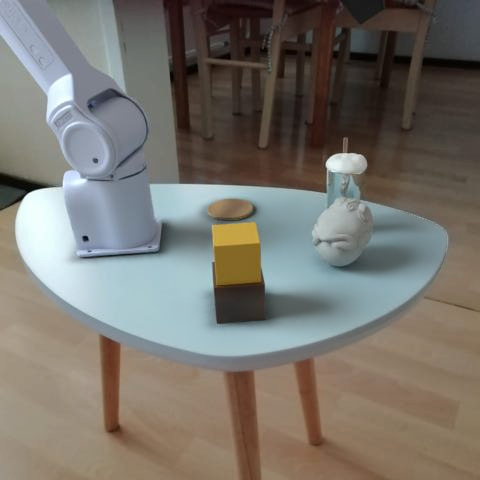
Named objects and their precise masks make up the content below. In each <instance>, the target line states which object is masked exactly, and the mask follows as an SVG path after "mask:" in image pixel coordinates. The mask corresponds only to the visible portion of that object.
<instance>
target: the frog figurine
mask: <svg viewBox="0 0 480 480" xmlns="http://www.w3.org/2000/svg"><path fill="white" fill-rule="evenodd" d="M374 224H375V221H374V217H373V213H372V211H371V209H370V207H369V206H368V204H367V203H364V202H362V201H361V200H360V201H358V200H357V199H353V198H352V199H350V198H347V197H339V198H337V199H336V200H335V202H334V204H332V205H331V206H330V207H329V208H328V209H327V208H326V209H325V211H323V212H322V213H321V214H320V215H319V216H318V219H317V222H316V223H315V224H314V225H313V229H312V231H311V236H312V241H311V242H312V245H313V246H314V247H315V249H316V252H317V254H318V256H319V257H320V259H321V260H322V261H323V262H325V263H326V264H328V265H330V266H333V267H345V266H348V265H350V264H353V262H355V261H356V260H357V259H358V258H359V257H360V256H361V255H362V253H363V252H364V251H365V248H366V246H367V245H368V244H369V243H370V242H371V240H372V234H371V233H372V232H373V230H374V226H375V225H374Z"/></svg>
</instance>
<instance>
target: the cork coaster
mask: <svg viewBox="0 0 480 480" xmlns="http://www.w3.org/2000/svg"><path fill="white" fill-rule="evenodd" d="M253 211H254V206H253V205H252V203H251V202H249V201H247V200H245V199H242V198H224V199H219V200H217V201H214V202H212V203H211V204H209V206H208V207H207V214H208V215H209V217H211V218H212V219H215V220H219V221H227V222H229V221H230V222H231V221H237V220H242V219H244V218H247V217H249V216H250V215H251V214H252V213H253Z"/></svg>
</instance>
